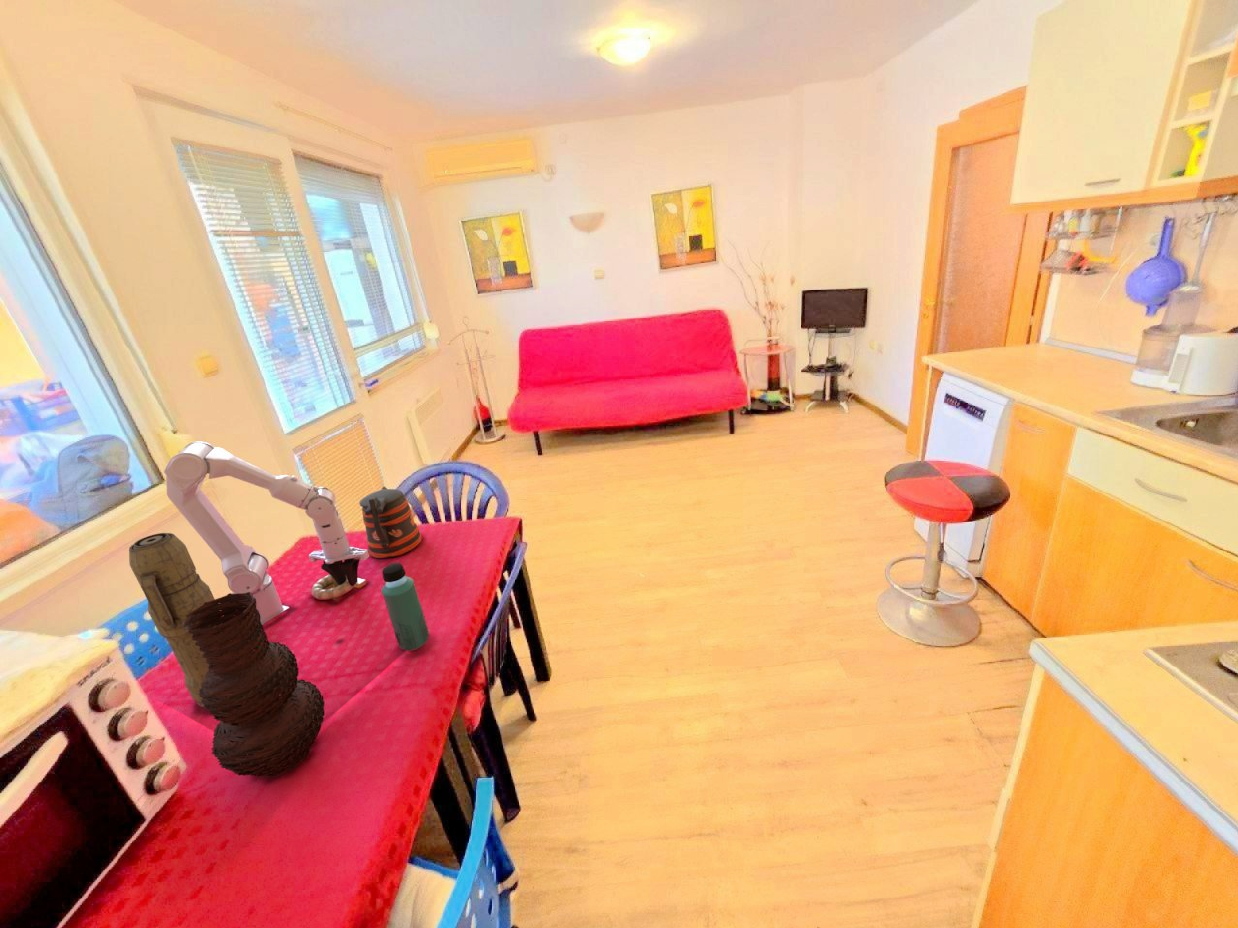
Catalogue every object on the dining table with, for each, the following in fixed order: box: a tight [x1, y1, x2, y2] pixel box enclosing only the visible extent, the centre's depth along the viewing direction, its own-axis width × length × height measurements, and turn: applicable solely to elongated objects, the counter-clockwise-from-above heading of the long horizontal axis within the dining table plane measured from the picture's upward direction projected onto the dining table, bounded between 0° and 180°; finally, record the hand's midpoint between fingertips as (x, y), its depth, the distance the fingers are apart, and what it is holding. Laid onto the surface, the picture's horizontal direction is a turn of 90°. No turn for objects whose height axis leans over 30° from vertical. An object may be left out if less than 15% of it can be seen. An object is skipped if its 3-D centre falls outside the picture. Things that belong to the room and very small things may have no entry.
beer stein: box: [359, 486, 422, 559], centre depth 144 cm, size 19×15×20 cm
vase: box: [180, 592, 326, 780], centre depth 80 cm, size 15×15×30 cm
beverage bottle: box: [381, 562, 430, 652], centre depth 104 cm, size 6×7×20 cm
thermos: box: [128, 532, 216, 708], centre depth 93 cm, size 9×12×35 cm
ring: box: [311, 573, 357, 601], centre depth 128 cm, size 10×10×2 cm
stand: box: [323, 576, 368, 601], centre depth 129 cm, size 9×9×7 cm
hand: (348, 583), depth 128 cm, fingers closed on ring, 2 cm apart
